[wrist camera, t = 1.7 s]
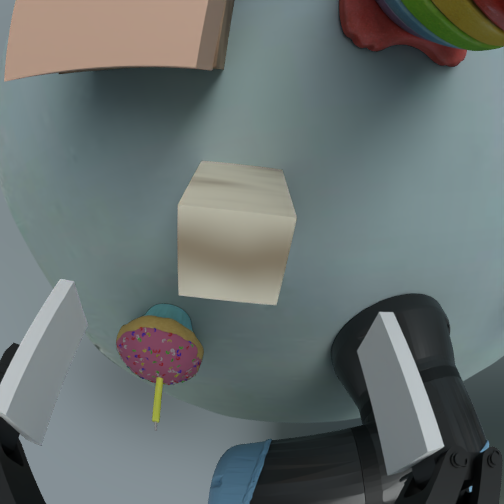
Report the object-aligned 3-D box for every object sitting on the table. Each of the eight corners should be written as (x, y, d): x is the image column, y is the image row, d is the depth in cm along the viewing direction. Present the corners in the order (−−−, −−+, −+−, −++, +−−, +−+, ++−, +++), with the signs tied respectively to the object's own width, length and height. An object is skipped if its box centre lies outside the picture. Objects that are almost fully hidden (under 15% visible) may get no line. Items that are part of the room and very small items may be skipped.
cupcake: (219, 338, 32) (210, 439, 22) (153, 348, 33) (132, 437, 23) (186, 280, 27) (160, 393, 17) (115, 296, 29) (74, 393, 19)
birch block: (269, 238, 25) (276, 305, 18) (197, 230, 24) (178, 295, 18) (282, 169, 22) (296, 218, 15) (201, 160, 21) (177, 204, 15)
